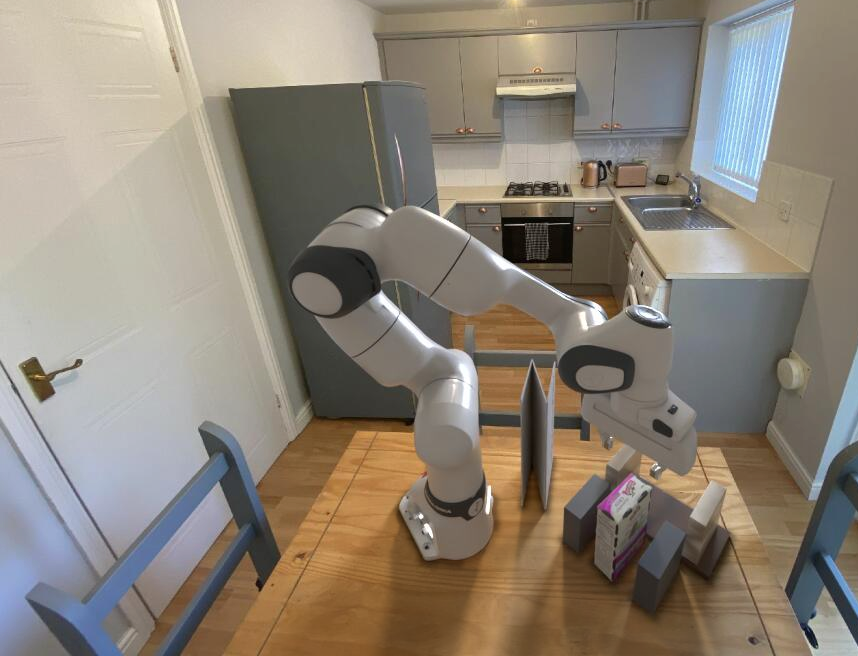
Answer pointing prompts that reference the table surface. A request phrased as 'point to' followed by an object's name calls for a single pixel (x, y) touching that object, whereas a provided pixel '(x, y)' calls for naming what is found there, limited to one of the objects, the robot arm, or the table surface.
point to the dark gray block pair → (655, 562)
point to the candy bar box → (621, 526)
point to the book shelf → (678, 514)
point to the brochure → (537, 431)
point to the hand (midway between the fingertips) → (630, 460)
